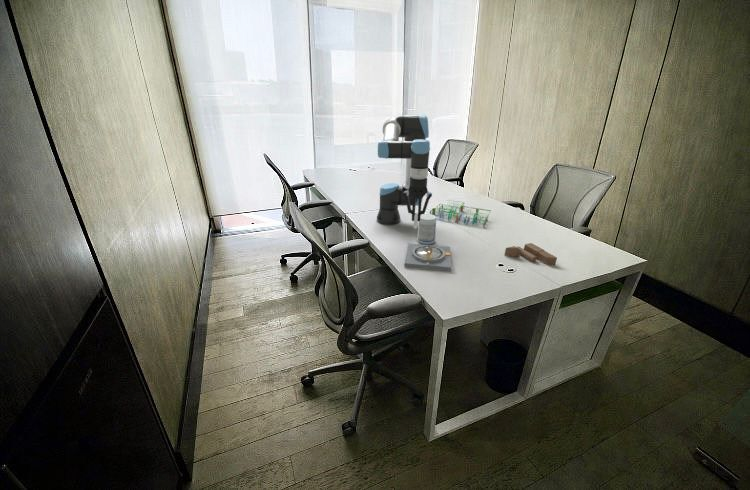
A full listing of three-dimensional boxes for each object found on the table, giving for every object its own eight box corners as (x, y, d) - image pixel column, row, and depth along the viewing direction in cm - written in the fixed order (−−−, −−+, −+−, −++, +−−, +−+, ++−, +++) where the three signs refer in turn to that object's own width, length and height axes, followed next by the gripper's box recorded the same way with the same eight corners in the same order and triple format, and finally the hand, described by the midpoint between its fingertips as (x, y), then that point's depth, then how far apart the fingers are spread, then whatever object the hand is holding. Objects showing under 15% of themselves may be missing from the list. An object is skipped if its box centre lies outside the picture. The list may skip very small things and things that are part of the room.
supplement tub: (437, 244, 182) (439, 219, 175) (420, 245, 180) (422, 220, 173) (430, 236, 190) (432, 212, 184) (414, 238, 188) (416, 214, 182)
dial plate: (404, 266, 159) (404, 260, 158) (408, 246, 179) (408, 241, 177) (450, 271, 156) (451, 264, 154) (449, 250, 175) (450, 244, 174)
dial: (417, 248, 172) (417, 238, 170) (440, 249, 170) (441, 240, 168) (415, 261, 159) (415, 251, 157) (440, 264, 157) (441, 253, 155)
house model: (428, 218, 218) (429, 211, 215) (442, 205, 241) (443, 199, 239) (483, 228, 203) (484, 221, 201) (492, 213, 226) (493, 206, 224)
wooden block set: (530, 240, 174) (558, 255, 159) (528, 249, 177) (555, 265, 162) (504, 245, 169) (531, 261, 154) (502, 255, 171) (528, 271, 156)
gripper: (402, 178, 141) (400, 229, 151) (433, 180, 139) (429, 231, 149) (404, 174, 147) (402, 223, 158) (434, 175, 145) (430, 225, 156)
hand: (415, 227), depth 153 cm, fingers closed
